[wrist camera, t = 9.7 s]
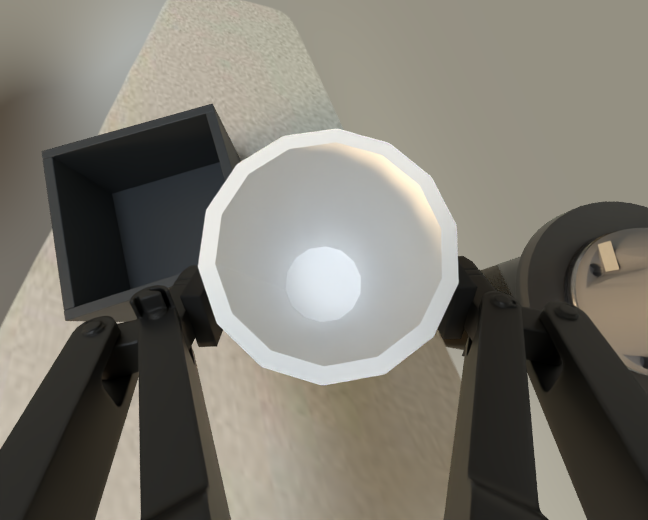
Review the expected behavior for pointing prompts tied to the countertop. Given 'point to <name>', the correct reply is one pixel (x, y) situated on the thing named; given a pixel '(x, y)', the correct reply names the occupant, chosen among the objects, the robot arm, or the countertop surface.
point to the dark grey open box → (133, 207)
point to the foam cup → (329, 256)
